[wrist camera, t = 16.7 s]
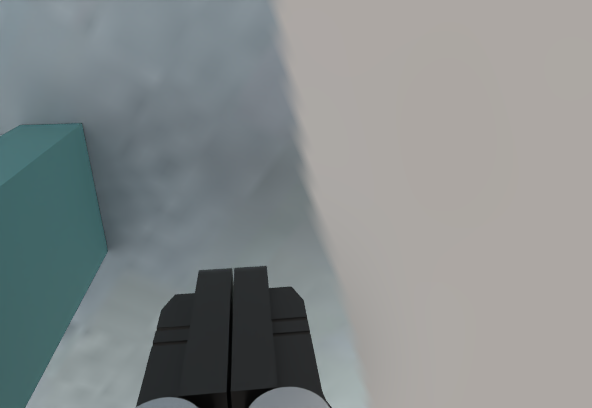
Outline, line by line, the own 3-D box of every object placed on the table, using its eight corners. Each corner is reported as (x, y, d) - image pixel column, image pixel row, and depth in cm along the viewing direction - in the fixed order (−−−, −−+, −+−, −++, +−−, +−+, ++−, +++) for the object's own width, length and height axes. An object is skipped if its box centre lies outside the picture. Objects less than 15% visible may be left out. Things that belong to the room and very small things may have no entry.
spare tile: (53, 254, 17) (-152, 533, 8) (19, 125, 15) (-303, 308, 6) (107, 251, 18) (-35, 520, 8) (81, 123, 15) (-144, 297, 6)
